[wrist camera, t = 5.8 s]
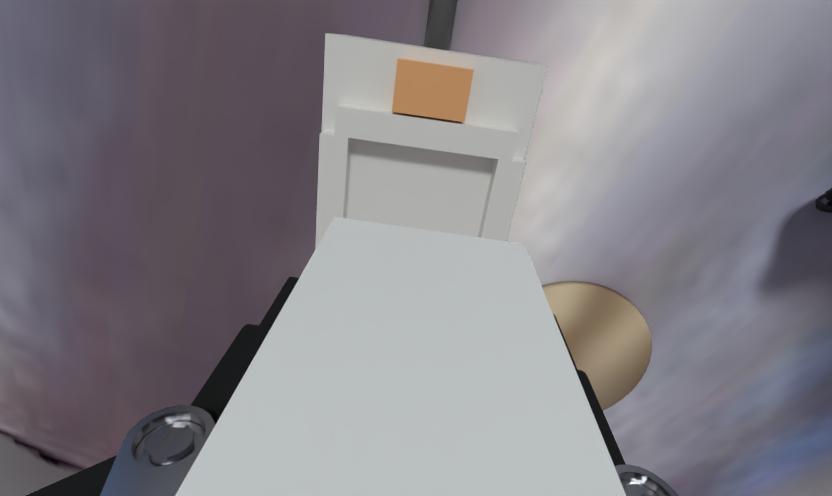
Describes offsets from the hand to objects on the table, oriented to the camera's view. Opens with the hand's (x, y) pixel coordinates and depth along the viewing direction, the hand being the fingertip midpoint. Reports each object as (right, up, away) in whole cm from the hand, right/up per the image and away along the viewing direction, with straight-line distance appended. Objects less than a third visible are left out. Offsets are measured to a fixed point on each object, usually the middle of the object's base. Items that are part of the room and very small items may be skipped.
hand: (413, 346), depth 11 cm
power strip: (0, +6, +13) cm, 14 cm away
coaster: (+10, -4, +18) cm, 21 cm away
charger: (0, +1, +1) cm, 2 cm away
